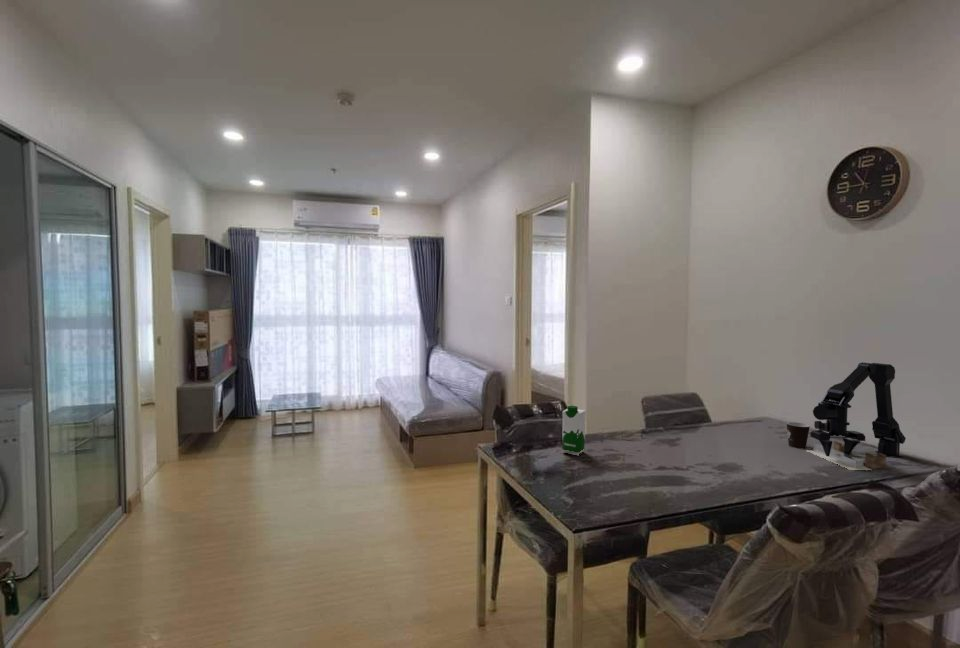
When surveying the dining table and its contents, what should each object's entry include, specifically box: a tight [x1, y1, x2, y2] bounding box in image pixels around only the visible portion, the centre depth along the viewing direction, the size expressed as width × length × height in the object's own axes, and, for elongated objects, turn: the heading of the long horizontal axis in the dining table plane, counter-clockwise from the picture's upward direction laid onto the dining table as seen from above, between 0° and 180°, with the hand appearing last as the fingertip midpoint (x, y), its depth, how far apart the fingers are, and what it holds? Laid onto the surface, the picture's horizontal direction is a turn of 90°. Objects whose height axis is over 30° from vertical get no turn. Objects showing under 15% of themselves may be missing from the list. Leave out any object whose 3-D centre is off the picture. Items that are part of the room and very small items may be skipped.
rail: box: [813, 443, 864, 469], centre depth 188 cm, size 3×22×3 cm, turn 1°
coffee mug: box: [786, 421, 811, 449], centre depth 208 cm, size 12×9×10 cm
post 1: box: [833, 440, 853, 456], centre depth 196 cm, size 6×3×5 cm, turn 91°
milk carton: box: [561, 405, 587, 452], centre depth 192 cm, size 9×9×20 cm
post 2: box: [864, 452, 887, 469], centre depth 180 cm, size 6×3×5 cm, turn 91°
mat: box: [805, 449, 872, 472], centre depth 188 cm, size 8×24×1 cm, turn 1°
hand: (836, 456), depth 188 cm, fingers open, 7 cm apart
